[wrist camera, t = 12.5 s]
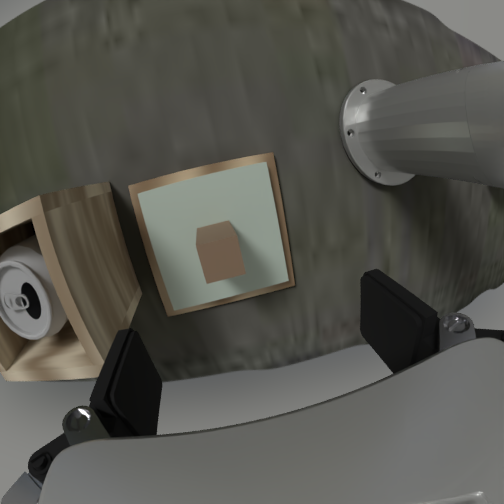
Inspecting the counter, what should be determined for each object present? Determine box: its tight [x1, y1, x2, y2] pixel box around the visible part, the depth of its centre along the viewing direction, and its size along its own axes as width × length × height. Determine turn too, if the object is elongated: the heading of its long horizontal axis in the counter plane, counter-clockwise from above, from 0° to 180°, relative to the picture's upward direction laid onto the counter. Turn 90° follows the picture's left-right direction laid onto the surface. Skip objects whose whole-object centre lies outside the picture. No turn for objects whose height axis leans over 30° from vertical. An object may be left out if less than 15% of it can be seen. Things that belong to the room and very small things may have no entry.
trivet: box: [128, 152, 295, 317], centre depth 27 cm, size 14×14×1 cm
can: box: [0, 234, 68, 340], centre depth 19 cm, size 8×8×12 cm
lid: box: [138, 162, 289, 311], centre depth 23 cm, size 12×12×7 cm
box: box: [0, 182, 142, 381], centre depth 19 cm, size 12×12×13 cm
